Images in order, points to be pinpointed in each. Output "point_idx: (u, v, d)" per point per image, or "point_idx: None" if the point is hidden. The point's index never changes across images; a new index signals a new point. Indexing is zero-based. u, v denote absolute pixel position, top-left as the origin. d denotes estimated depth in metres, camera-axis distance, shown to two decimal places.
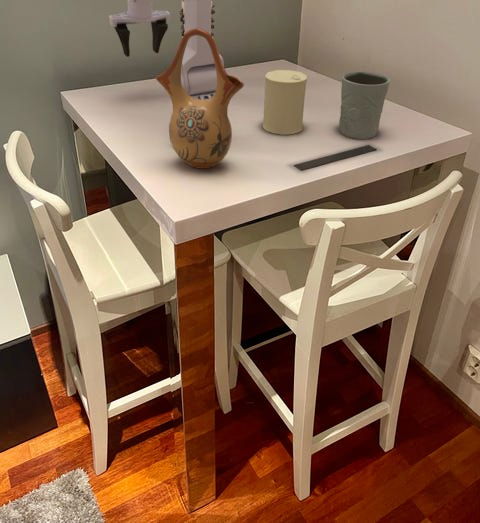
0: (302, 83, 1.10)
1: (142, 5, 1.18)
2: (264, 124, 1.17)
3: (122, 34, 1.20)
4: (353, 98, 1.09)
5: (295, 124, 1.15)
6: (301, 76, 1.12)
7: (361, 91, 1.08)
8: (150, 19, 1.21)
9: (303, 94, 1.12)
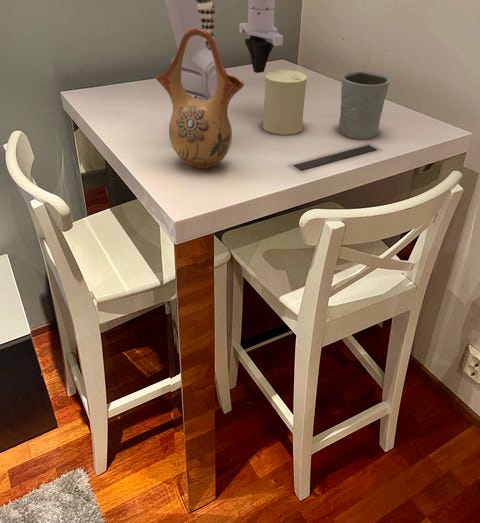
0: (302, 83, 1.10)
1: (249, 15, 1.12)
2: (264, 124, 1.17)
3: (246, 43, 1.17)
4: (353, 98, 1.09)
5: (295, 124, 1.15)
6: (301, 76, 1.12)
7: (361, 91, 1.08)
8: (253, 33, 1.13)
9: (303, 94, 1.12)
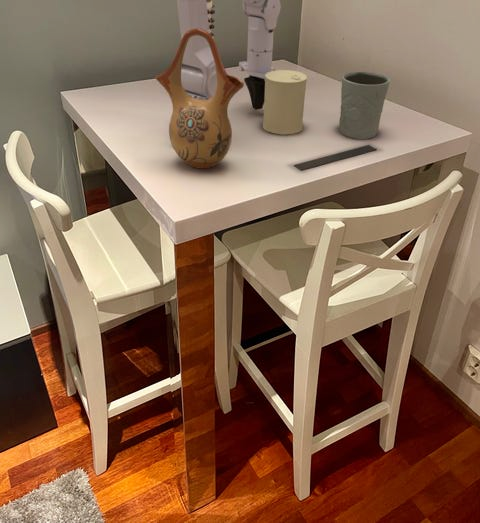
0: (302, 83, 1.10)
1: (248, 57, 1.17)
2: (264, 124, 1.17)
3: (245, 82, 1.22)
4: (353, 98, 1.09)
5: (295, 124, 1.15)
6: (301, 76, 1.12)
7: (361, 91, 1.08)
8: (252, 73, 1.18)
9: (303, 94, 1.12)
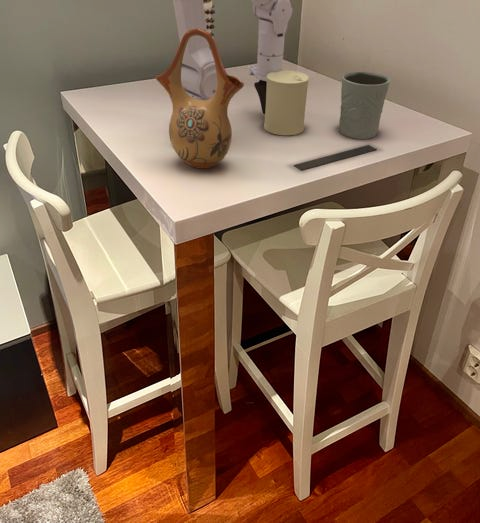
0: (304, 84, 1.10)
1: (258, 61, 1.14)
2: (265, 125, 1.17)
3: (255, 87, 1.19)
4: (353, 98, 1.09)
5: (297, 125, 1.14)
6: (303, 77, 1.12)
7: (361, 91, 1.08)
8: (262, 78, 1.15)
9: (305, 95, 1.12)
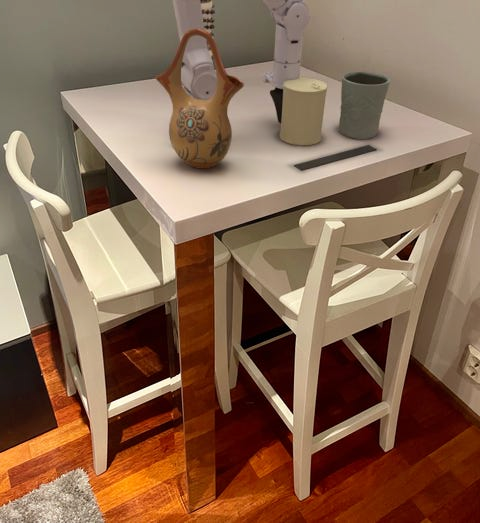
0: (322, 92, 1.05)
1: (274, 68, 1.10)
2: (281, 134, 1.12)
3: (271, 95, 1.15)
4: (353, 98, 1.09)
5: (314, 135, 1.10)
6: (321, 85, 1.07)
7: (361, 91, 1.08)
8: (279, 86, 1.11)
9: (323, 104, 1.07)
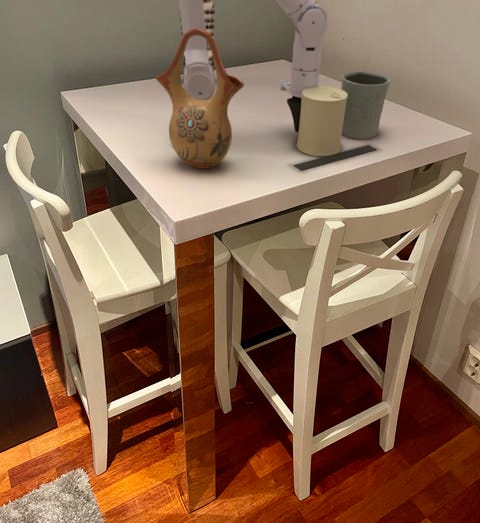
0: (343, 101, 1.01)
1: (292, 76, 1.06)
2: (299, 144, 1.08)
3: (288, 103, 1.10)
4: (353, 98, 1.09)
5: (333, 145, 1.06)
6: (341, 93, 1.03)
7: (361, 91, 1.08)
8: (297, 94, 1.06)
9: (343, 113, 1.03)
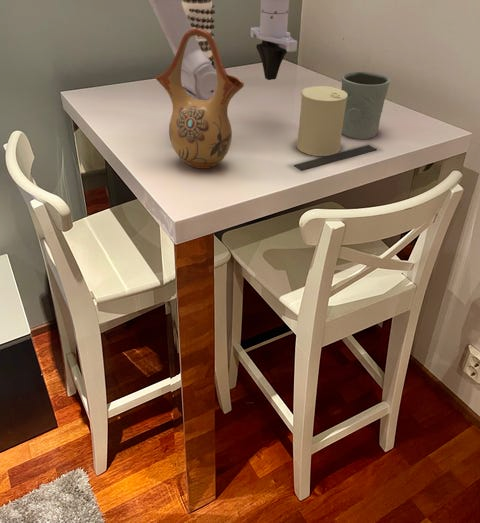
0: (343, 101, 1.01)
1: (261, 19, 1.06)
2: (299, 144, 1.08)
3: (257, 49, 1.11)
4: (353, 98, 1.09)
5: (333, 145, 1.06)
6: (341, 93, 1.03)
7: (361, 91, 1.08)
8: (266, 38, 1.07)
9: (343, 113, 1.03)
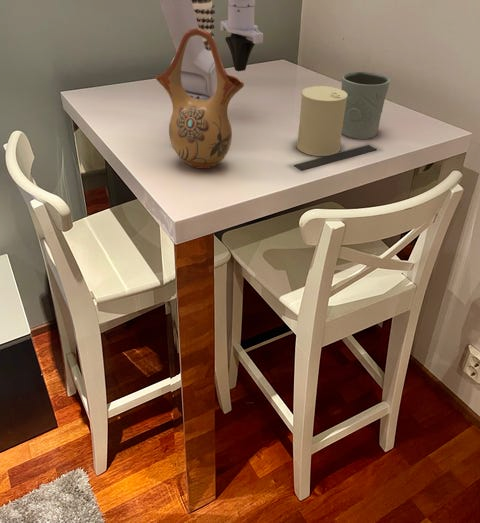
0: (343, 101, 1.01)
1: (228, 13, 1.11)
2: (299, 144, 1.08)
3: (226, 41, 1.15)
4: (353, 98, 1.09)
5: (333, 145, 1.06)
6: (341, 93, 1.03)
7: (361, 91, 1.08)
8: (233, 30, 1.11)
9: (343, 113, 1.03)
